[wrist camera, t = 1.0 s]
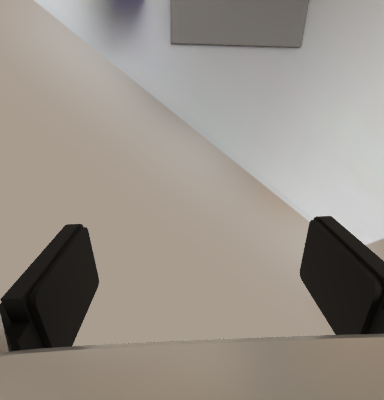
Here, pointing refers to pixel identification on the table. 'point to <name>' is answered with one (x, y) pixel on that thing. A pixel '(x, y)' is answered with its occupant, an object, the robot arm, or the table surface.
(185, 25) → the mat
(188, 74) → the table surface
